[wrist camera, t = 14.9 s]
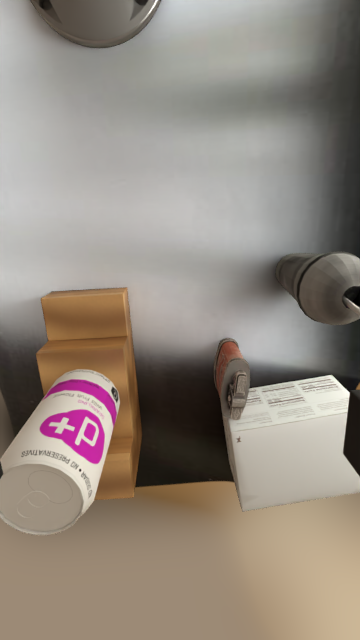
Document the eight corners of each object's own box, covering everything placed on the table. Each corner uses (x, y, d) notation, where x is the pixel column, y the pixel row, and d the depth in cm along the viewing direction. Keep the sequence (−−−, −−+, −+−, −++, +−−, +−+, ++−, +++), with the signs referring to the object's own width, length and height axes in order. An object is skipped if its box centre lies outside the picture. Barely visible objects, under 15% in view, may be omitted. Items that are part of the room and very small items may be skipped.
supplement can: (80, 352, 38) (24, 436, 23) (134, 396, 39) (113, 498, 25) (37, 398, 39) (-40, 503, 25) (92, 438, 41) (49, 556, 27)
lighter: (233, 389, 48) (249, 431, 39) (211, 388, 48) (220, 430, 39) (241, 338, 46) (259, 370, 36) (217, 337, 46) (229, 368, 36)
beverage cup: (330, 256, 43) (457, 288, 24) (302, 305, 45) (397, 371, 26) (282, 232, 42) (374, 245, 23) (255, 284, 44) (319, 335, 25)
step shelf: (51, 291, 43) (8, 317, 32) (127, 287, 43) (111, 312, 32) (77, 438, 50) (49, 502, 39) (142, 434, 50) (133, 497, 39)
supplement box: (229, 463, 52) (240, 514, 43) (218, 391, 48) (228, 431, 40) (334, 447, 52) (368, 495, 43) (332, 373, 48) (369, 409, 39)
